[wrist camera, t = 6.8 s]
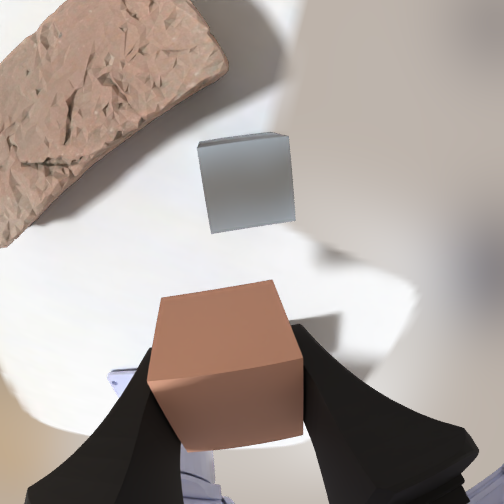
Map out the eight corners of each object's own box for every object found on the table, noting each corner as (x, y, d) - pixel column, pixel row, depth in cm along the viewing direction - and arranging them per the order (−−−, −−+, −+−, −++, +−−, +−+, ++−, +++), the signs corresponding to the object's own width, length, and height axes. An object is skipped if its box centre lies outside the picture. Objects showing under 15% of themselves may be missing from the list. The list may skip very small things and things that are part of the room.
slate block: (277, 199, 18) (295, 220, 15) (210, 209, 18) (211, 233, 14) (270, 132, 16) (288, 136, 13) (199, 141, 16) (197, 148, 12)
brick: (26, 234, 17) (-9, 265, 12) (-29, 143, 13) (-71, 156, 9) (231, 77, 15) (240, 63, 11) (160, -24, 12) (149, -60, 7)
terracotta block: (279, 358, 13) (302, 434, 9) (187, 373, 12) (187, 452, 9) (272, 279, 11) (303, 357, 7) (161, 297, 11) (146, 381, 7)
